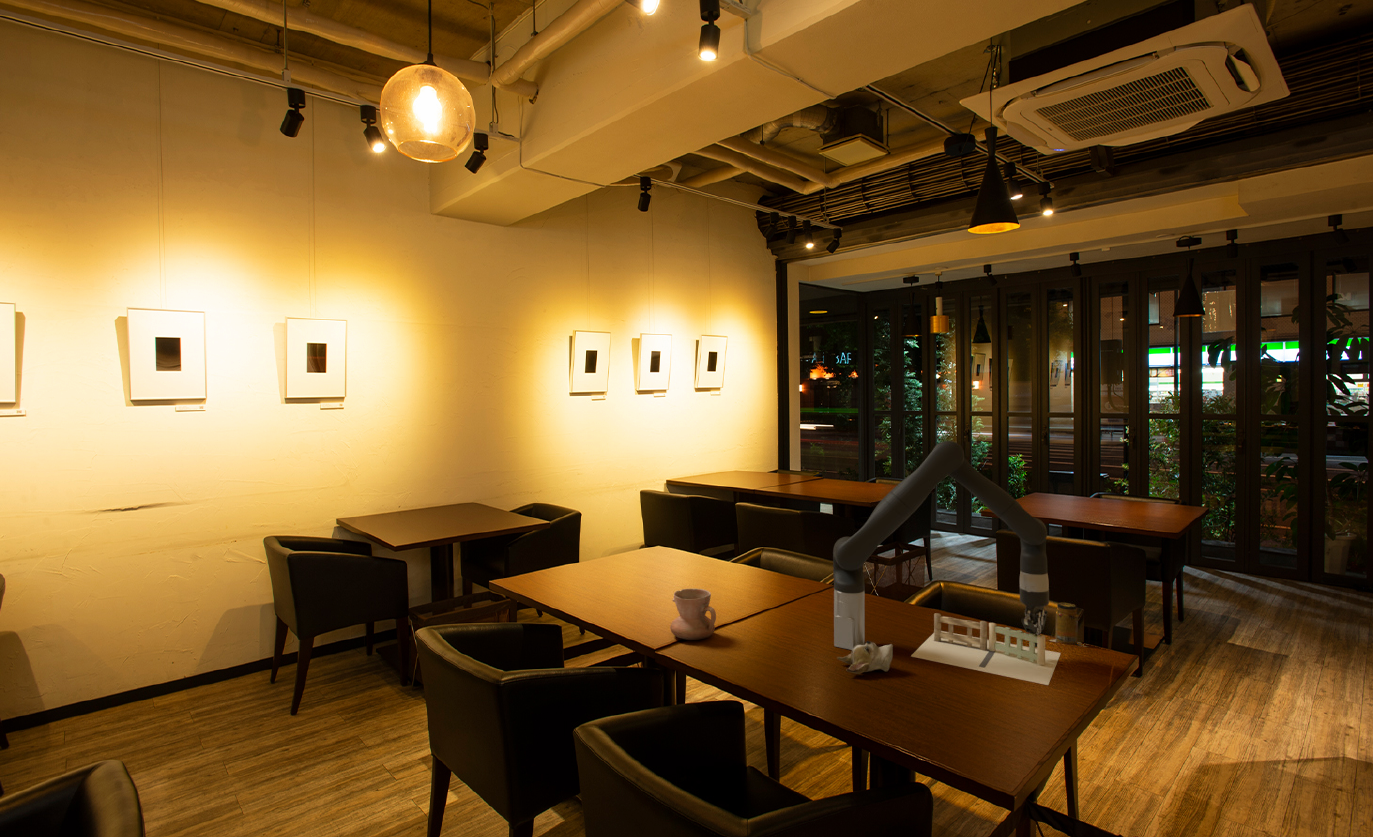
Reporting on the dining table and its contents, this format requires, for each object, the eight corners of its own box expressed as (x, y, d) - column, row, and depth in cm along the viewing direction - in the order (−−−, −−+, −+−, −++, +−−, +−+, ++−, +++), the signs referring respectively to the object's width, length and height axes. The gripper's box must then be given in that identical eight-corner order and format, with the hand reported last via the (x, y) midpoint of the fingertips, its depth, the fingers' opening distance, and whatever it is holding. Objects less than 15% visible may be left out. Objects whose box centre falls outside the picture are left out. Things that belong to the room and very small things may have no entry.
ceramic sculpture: (899, 645, 182) (845, 649, 181) (901, 676, 182) (847, 681, 181) (885, 632, 192) (834, 636, 191) (887, 662, 192) (836, 666, 192)
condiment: (1063, 637, 213) (1063, 600, 212) (1089, 646, 205) (1089, 607, 205) (1048, 641, 209) (1048, 603, 209) (1074, 649, 202) (1074, 610, 202)
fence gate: (987, 650, 200) (987, 623, 200) (990, 648, 201) (990, 622, 201) (1043, 665, 187) (1043, 637, 187) (1046, 664, 189) (1046, 636, 189)
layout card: (1048, 686, 175) (1048, 684, 175) (910, 657, 196) (910, 655, 196) (1060, 654, 198) (1060, 652, 198) (936, 631, 219) (936, 629, 219)
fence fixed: (987, 649, 201) (987, 621, 201) (986, 651, 200) (986, 623, 200) (935, 639, 210) (935, 612, 210) (933, 640, 209) (933, 614, 209)
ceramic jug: (658, 635, 216) (658, 592, 215) (689, 625, 226) (689, 584, 226) (698, 649, 203) (698, 603, 203) (729, 637, 213) (729, 594, 213)
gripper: (1030, 580, 200) (1031, 637, 201) (1010, 589, 192) (1011, 648, 192) (1056, 585, 195) (1057, 643, 195) (1038, 594, 186) (1039, 655, 186)
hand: (1035, 645), depth 194 cm, fingers closed
